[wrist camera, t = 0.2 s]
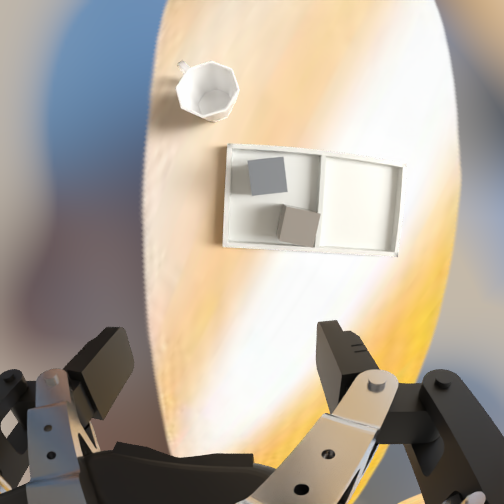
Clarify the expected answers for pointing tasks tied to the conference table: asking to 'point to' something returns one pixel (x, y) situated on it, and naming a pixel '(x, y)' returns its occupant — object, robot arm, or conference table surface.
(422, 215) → the conference table surface
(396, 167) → the divided tray
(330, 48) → the conference table surface
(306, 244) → the stone
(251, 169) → the matte grey cube
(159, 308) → the conference table surface
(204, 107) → the cup
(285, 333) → the conference table surface
